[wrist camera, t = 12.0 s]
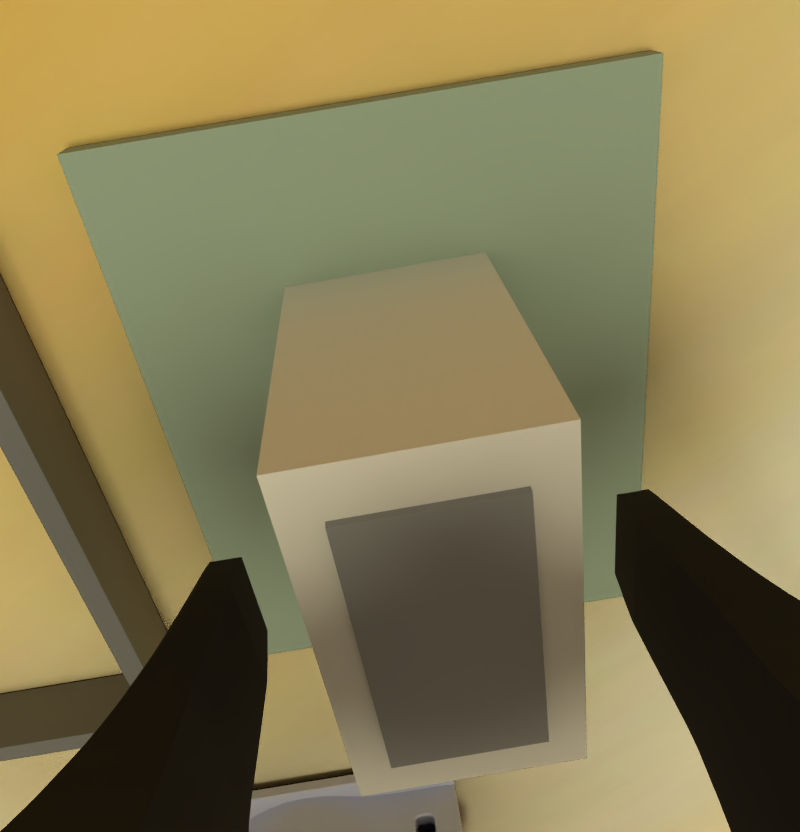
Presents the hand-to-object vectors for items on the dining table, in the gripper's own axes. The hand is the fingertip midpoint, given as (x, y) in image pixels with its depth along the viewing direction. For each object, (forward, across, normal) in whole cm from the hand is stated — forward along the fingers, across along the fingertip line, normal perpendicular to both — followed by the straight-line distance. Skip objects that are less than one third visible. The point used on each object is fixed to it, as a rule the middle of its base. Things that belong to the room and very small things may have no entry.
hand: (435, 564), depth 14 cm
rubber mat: (+6, 0, 0) cm, 6 cm away
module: (+5, 0, 0) cm, 5 cm away
